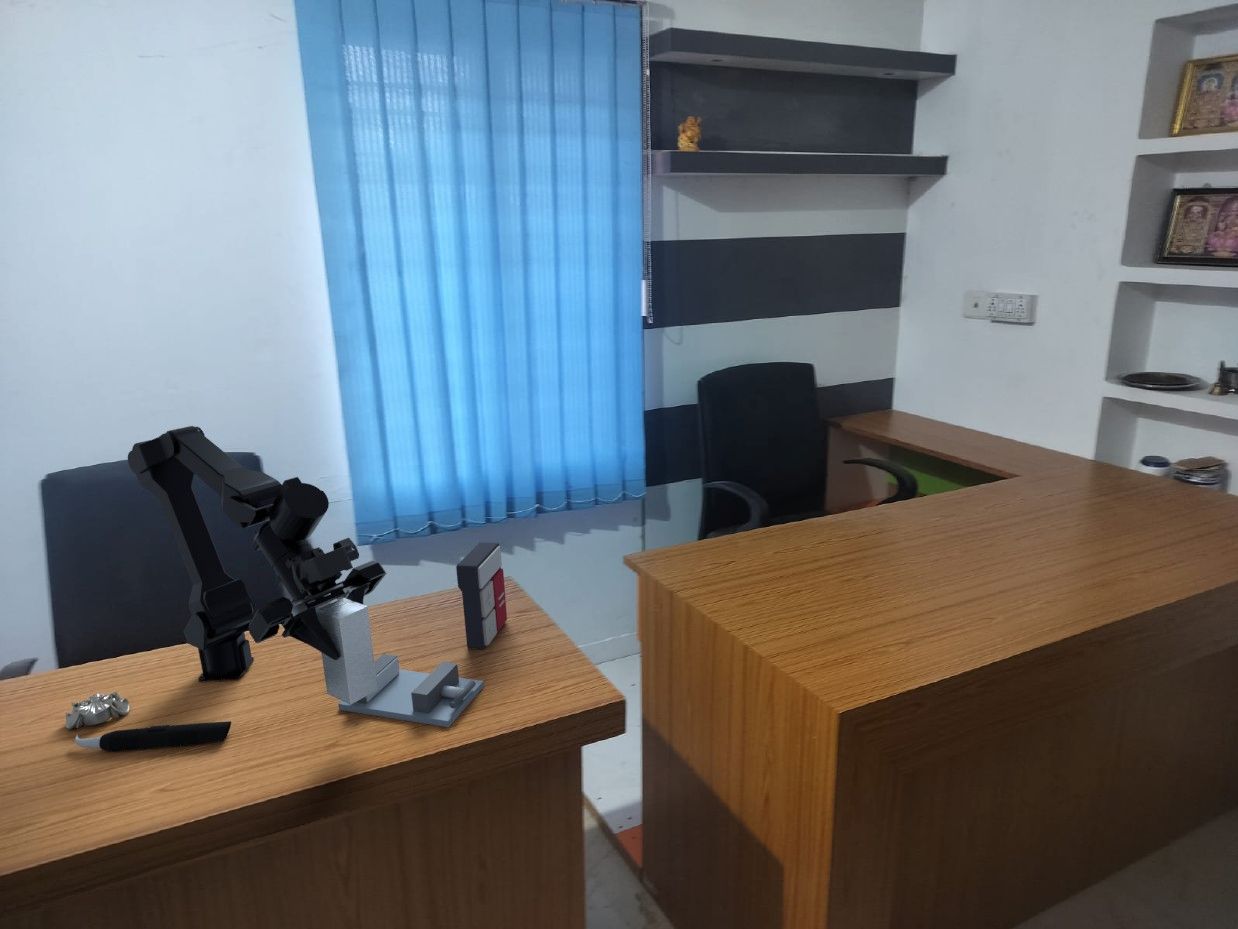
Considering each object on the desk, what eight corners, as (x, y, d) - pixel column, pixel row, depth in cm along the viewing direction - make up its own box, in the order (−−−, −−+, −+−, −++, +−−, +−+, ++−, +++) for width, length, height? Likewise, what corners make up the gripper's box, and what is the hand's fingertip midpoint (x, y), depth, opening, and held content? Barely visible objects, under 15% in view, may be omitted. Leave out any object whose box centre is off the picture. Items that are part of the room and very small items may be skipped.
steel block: (350, 704, 110) (339, 619, 106) (327, 694, 113) (315, 610, 109) (377, 689, 113) (367, 606, 110) (354, 679, 116) (343, 597, 113)
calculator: (488, 651, 137) (480, 566, 133) (463, 649, 138) (455, 565, 134) (509, 621, 147) (503, 542, 143) (486, 619, 148) (479, 541, 144)
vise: (338, 709, 121) (335, 685, 120) (381, 672, 131) (378, 649, 130) (449, 727, 116) (446, 702, 115) (484, 687, 126) (482, 663, 125)
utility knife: (64, 761, 112) (59, 741, 111) (79, 743, 116) (75, 725, 115) (229, 745, 114) (225, 726, 113) (239, 729, 118) (235, 710, 117)
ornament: (130, 700, 126) (125, 678, 125) (130, 721, 121) (125, 699, 120) (68, 716, 123) (63, 694, 122) (65, 739, 117) (59, 716, 116)
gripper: (247, 548, 101) (313, 653, 98) (370, 506, 116) (431, 596, 113) (222, 593, 108) (283, 692, 105) (341, 547, 123) (398, 633, 119)
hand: (353, 650), depth 110 cm, fingers closed on steel block, 4 cm apart
